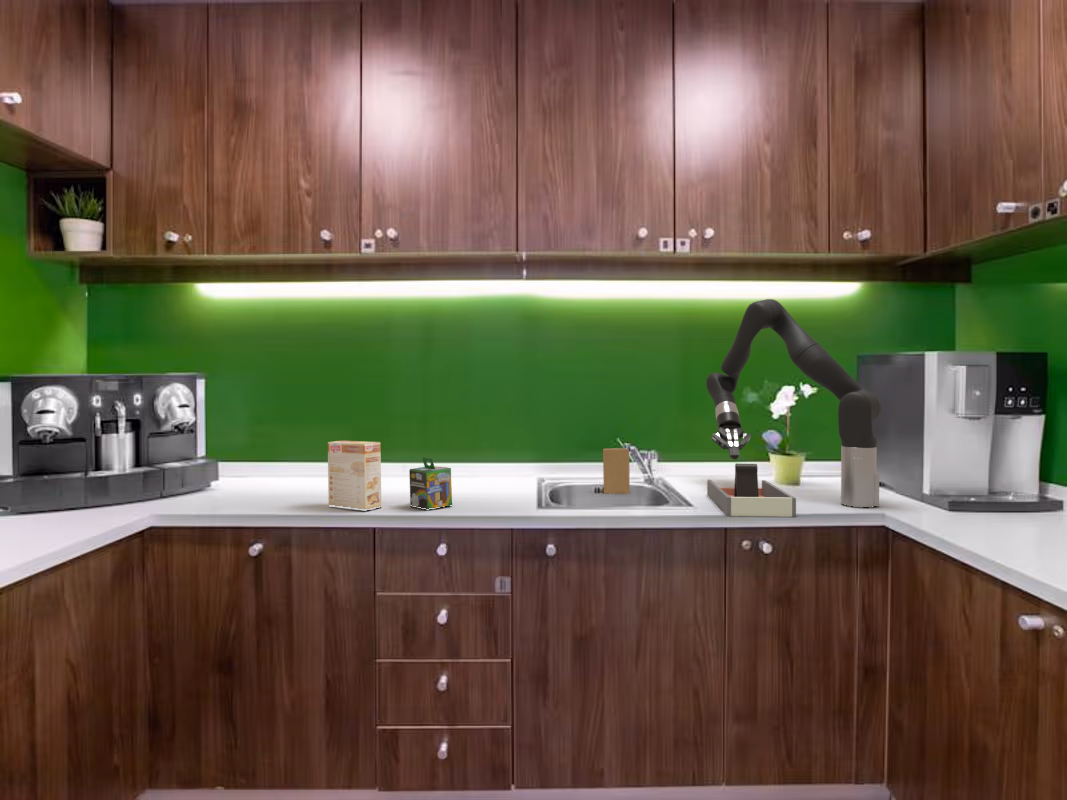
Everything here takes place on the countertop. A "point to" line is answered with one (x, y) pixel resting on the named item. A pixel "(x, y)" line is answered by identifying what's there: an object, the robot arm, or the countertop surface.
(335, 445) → the coffeecake box
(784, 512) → the open storage tray
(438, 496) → the chalk box
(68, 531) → the countertop surface
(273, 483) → the countertop surface
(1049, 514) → the countertop surface
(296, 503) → the countertop surface
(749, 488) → the door stopper
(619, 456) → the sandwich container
